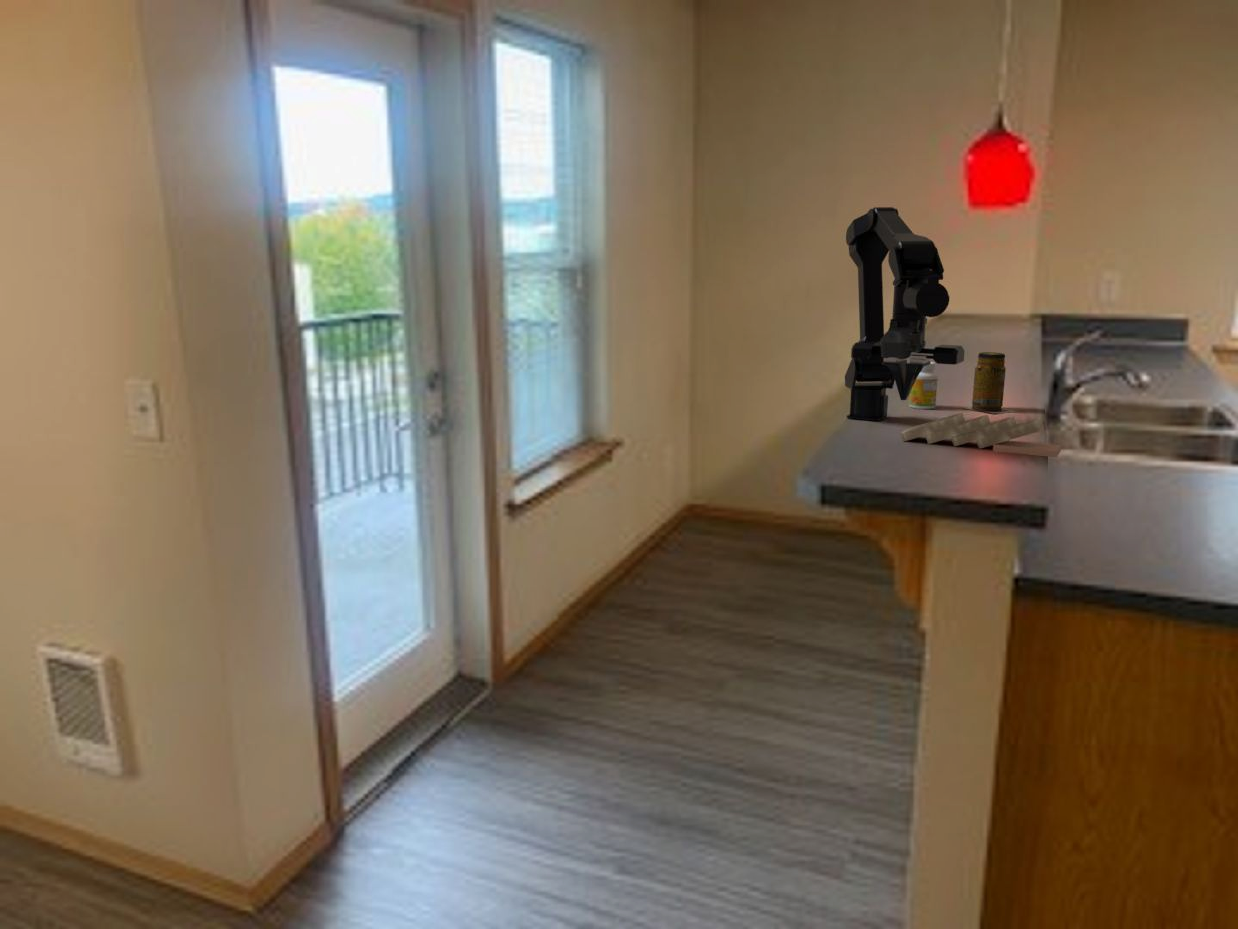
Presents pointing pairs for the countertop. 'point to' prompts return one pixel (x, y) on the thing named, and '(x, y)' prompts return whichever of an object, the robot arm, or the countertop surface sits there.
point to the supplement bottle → (924, 389)
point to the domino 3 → (986, 431)
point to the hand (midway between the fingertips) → (903, 399)
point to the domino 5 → (1028, 448)
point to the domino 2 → (959, 429)
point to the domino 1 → (933, 427)
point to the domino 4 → (1012, 433)
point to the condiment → (989, 383)
